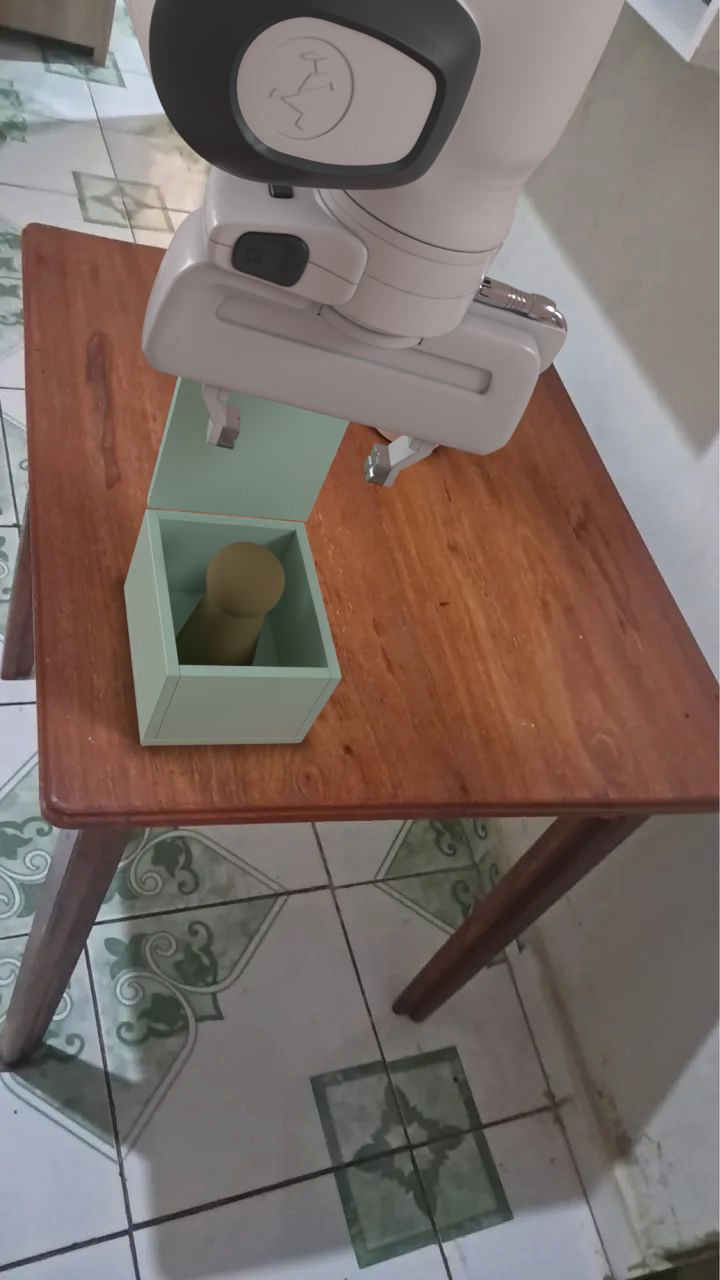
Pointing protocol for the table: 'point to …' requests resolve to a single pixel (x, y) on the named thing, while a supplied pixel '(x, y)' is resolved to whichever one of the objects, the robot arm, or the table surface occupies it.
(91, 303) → the table surface
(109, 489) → the table surface
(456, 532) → the table surface
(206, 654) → the brown pawn
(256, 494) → the lid
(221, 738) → the light green open box
